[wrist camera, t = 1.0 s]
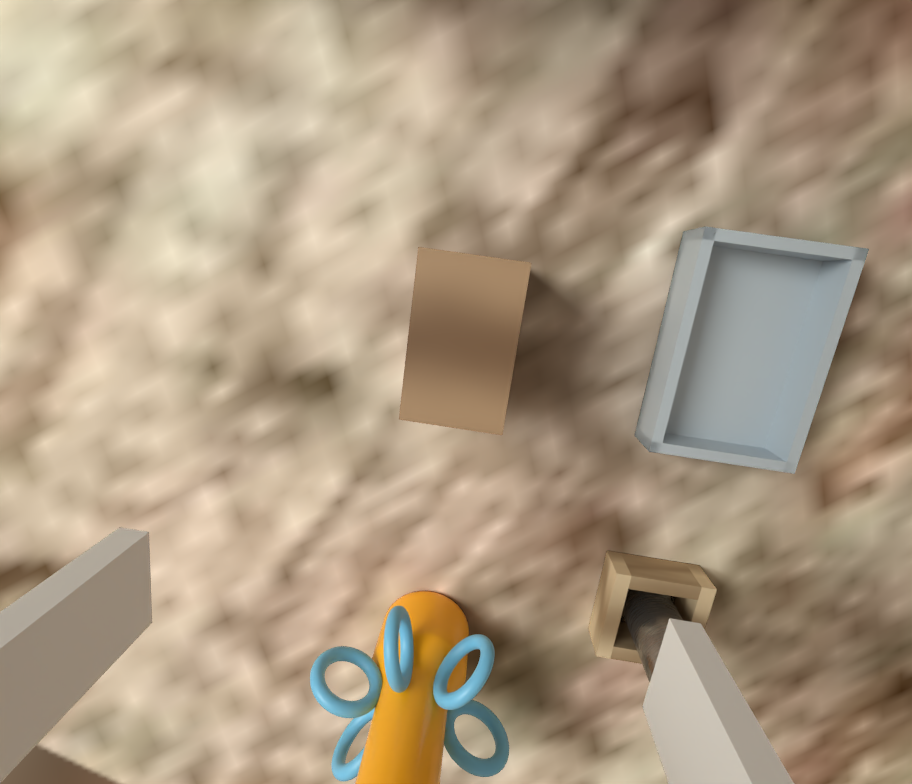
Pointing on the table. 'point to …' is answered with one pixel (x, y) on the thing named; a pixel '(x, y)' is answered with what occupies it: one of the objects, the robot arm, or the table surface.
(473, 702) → the cylinder
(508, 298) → the block
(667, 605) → the pin
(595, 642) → the socket block
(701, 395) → the tray
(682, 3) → the table surface
